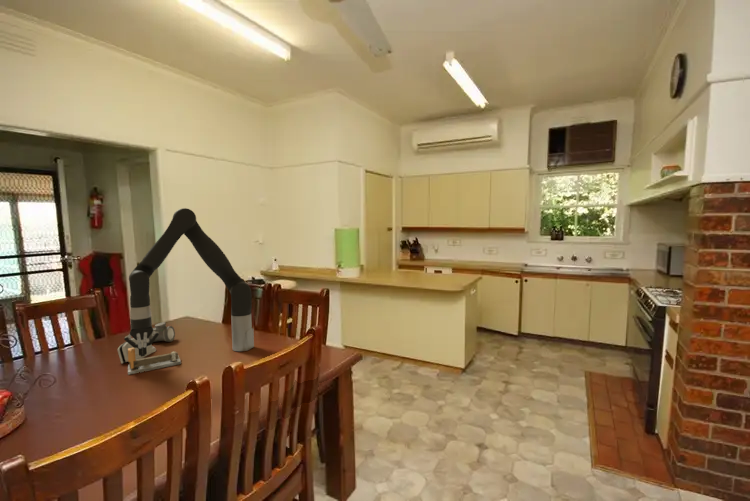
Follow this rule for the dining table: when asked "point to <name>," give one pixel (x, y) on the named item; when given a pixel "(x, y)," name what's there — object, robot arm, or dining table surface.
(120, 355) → the hinge
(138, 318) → the robot arm
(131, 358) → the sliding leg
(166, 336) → the pipe fitting
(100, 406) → the dining table surface
